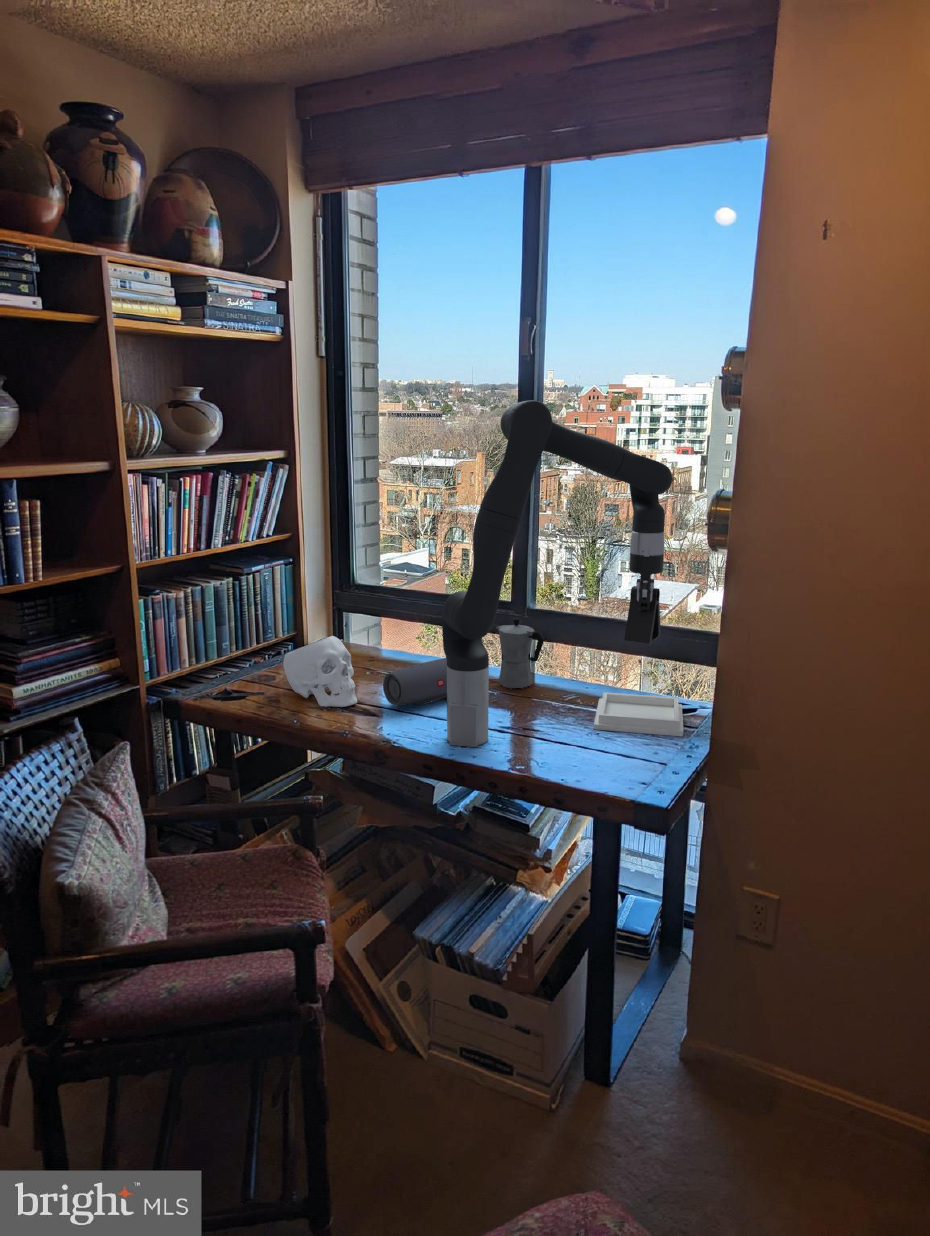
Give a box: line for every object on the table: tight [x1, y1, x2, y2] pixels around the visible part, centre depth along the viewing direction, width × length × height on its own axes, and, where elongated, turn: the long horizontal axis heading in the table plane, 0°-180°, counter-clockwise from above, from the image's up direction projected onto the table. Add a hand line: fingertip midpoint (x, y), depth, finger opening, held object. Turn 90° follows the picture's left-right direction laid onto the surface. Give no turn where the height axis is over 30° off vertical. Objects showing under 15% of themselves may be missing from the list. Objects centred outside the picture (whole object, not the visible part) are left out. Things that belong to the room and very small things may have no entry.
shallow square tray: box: [593, 691, 684, 737], centre depth 200 cm, size 18×20×3 cm
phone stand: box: [623, 585, 662, 645], centre depth 194 cm, size 9×6×12 cm, turn 151°
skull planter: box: [283, 635, 358, 708], centre depth 213 cm, size 14×20×19 cm
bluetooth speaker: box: [382, 657, 447, 707], centre depth 212 cm, size 23×9×10 cm, turn 129°
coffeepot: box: [495, 617, 545, 690], centre depth 223 cm, size 15×9×18 cm, turn 49°
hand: (643, 624), depth 194 cm, fingers closed on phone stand, 2 cm apart
